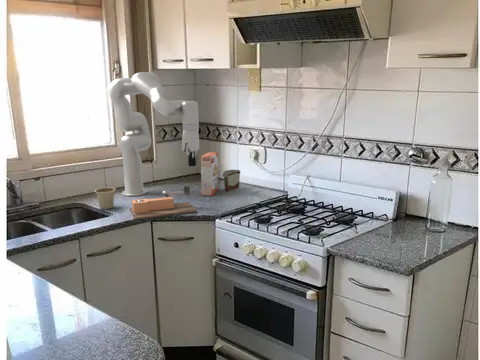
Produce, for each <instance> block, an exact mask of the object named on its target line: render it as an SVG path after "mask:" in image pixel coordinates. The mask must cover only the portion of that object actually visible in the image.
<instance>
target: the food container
mask: <svg viewBox="0 0 480 360" xmlns="http://www.w3.org/2000/svg"><path fill="white" fill-rule="evenodd" d="M241 173H242V172H241V170H240V169H228V170H224V171H223V173H222V177H223V182H224V183H223V184H224V191H226V192H231V191H232V192H233V191H234V190H237V189H240V181H241V180H240V178H241V177H240V175H241Z"/></svg>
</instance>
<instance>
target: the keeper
mask: <svg viewBox="0 0 480 360" xmlns="http://www.w3.org/2000/svg"><path fill="white" fill-rule="evenodd" d="M164 195H169V196H190V195H191V185H188V184H187V185H184V186H183V190H182V191H178V190H177V191H175V190H173V191H172V190H171V191H170V190H163V191H162V196H164Z"/></svg>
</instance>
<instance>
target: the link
mask: <svg viewBox="0 0 480 360" xmlns="http://www.w3.org/2000/svg"><path fill="white" fill-rule="evenodd" d="M139 199H141V200H142V202H138V200H139ZM174 200H175V199H174V197H173V196H169V197H166V198H164V197H158V198H157V197H156V198H155V197H154V198H138V199H131V206H132V207H131V208H132V209H133V212H134V213H140V212H149V211H151V210H160V209H169V208H174Z"/></svg>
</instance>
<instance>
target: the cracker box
mask: <svg viewBox="0 0 480 360" xmlns="http://www.w3.org/2000/svg"><path fill="white" fill-rule="evenodd" d="M200 166H201V167H200V169H201V172H200V173H201V174H200V177H201V196H202V197H203V196H204V197H205V196H206V197H212V196H214V194H215V193H216V192H217V191H218V190H219V152H217V151H212V152H211V151H209V152H206V153H204V154H203V155H201V157H200Z"/></svg>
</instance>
